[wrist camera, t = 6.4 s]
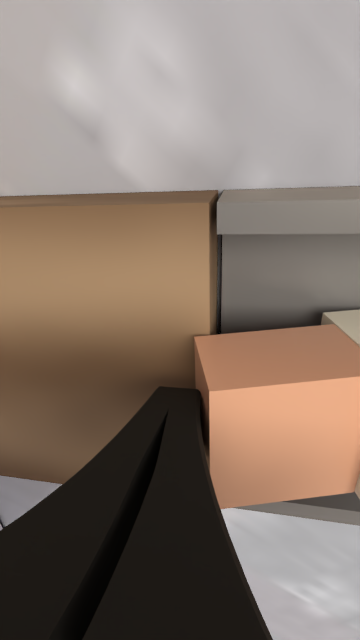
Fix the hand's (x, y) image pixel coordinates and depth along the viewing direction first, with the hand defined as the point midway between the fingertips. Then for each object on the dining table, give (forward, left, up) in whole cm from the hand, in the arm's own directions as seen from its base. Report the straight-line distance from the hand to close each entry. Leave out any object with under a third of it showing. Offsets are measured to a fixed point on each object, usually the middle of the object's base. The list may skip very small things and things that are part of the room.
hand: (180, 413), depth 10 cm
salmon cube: (0, -2, -2) cm, 3 cm away
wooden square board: (0, +5, -4) cm, 7 cm away
